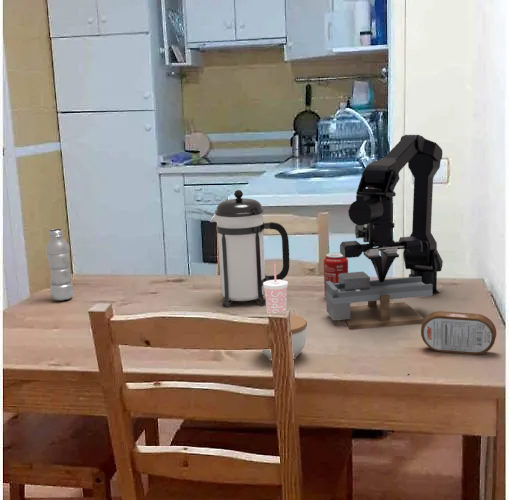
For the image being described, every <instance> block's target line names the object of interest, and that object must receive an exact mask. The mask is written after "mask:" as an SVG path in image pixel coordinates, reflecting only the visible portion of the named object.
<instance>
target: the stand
mask: <svg viewBox="0 0 509 500" xmlns="http://www.w3.org/2000/svg"><path fill="white" fill-rule="evenodd" d="M390 301H391V299H390V295H389V294H387V295H380V301H379V303H377V302H378V301H367V304H365V305H352V306H351V305H350V319H344V320H342V322H343V323H344V324H345V325H346V327H347V328H348V330H360V329H371V328H383V327H394V326H407V325H419V324H422V323H423V320H424V319H425V317H423V315H421V314H420V313H418V312H417V311H416V310H415V309H414V308H412V306H411V305H409V304H408V303H407V302H405V301H402V302H401V301H400V302H390Z"/></svg>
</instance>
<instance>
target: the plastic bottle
mask: <svg viewBox="0 0 509 500" xmlns="http://www.w3.org/2000/svg"><path fill="white" fill-rule="evenodd" d="M48 237H49V239H50V240H49V241H48V242H47V245H46V246H45V252H46V253H45V254H46V257H47V261H48V266H49V271H50V286H49V294H50V297H51V299H52V300H53V301H66V300H71V298H73V297H74V294H75V288H74V285H73V282H72V277H71V269H70V245H69V243H68V242H67V241H66V239H64V238H63V237H64V233H63V229H62V228H54V229H53V228H52V229H49V230H48Z"/></svg>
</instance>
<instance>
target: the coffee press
mask: <svg viewBox="0 0 509 500" xmlns="http://www.w3.org/2000/svg"><path fill="white" fill-rule="evenodd" d="M233 195H234V197H235V198H232V199H231V198H230V199H226V200H223V201H222V202H220V203H218V204H217V206H216V210H214V214H213V216H212V217H211V219H210V220H209V223H216V233H217V243H218V244H217V245H218V260H219V263H218V264H219V275H220V276H219V277H220V291H221V295H222V296H223V300H222V304H221V305H222V307H224V308H229V307H230V306H231V304H232V303H233V302H248V301H256V303H257V305H259V306H260V307H261V306H264V305H266V298H265V297H264V296H265V289H264V287H263V286H264V285H263V283H264V282H265V281H268V280H274V275H266V266H265V265H266V264H265V263H266V261H265V242H264V241H265V240H264V239H265V238H264V230H275V231H277V232H278V233H279V234H280V237H281V247H282V248H281V249H282V250H281V251H282V269H281V271H280V272H279V273H278V274H276V280H285V278H286V277H287V276H288V273H289V271H290V243H289V236H288V232H287V229H285V227H284V226H283V225H282V224H280V223H277V222H274V221H273V222H272V221H271V222H264V218H263V217H264V215H263V214H264V212H265V208H264V207H263V206H262V204H261V203H260V202H259V200H256V199H253V198H245V197H244V198H242V197H243V196H244V193H243V191H242V190H241V189H237V190H235V191H234V194H233Z"/></svg>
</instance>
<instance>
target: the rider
mask: <svg viewBox="0 0 509 500" xmlns="http://www.w3.org/2000/svg"><path fill="white" fill-rule="evenodd" d="M370 281H371V277H370V276H369V275H368V274H367V273H366V272H365V271H353V272H348V273H339V288H340V291H341V292H342V291H354V290H366V289H370Z"/></svg>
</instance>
